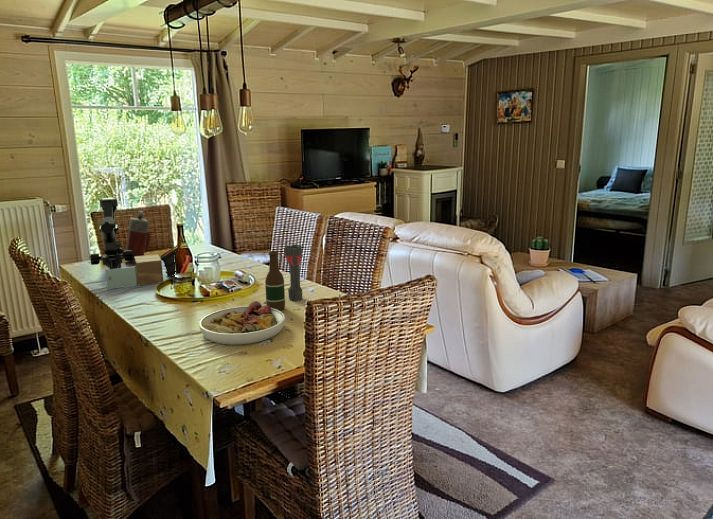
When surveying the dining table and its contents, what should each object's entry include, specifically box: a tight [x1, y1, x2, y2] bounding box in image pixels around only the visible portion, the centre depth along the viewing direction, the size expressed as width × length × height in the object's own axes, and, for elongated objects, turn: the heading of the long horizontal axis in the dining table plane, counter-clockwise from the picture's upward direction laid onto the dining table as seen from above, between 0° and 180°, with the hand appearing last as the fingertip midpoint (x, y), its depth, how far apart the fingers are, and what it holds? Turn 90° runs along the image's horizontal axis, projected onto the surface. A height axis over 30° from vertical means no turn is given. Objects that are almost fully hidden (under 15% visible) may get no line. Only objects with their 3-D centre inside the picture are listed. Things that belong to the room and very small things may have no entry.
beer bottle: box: [264, 250, 286, 312], centre depth 215 cm, size 8×8×24 cm
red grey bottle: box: [124, 210, 151, 263], centre depth 300 cm, size 9×11×28 cm
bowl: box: [198, 300, 286, 346], centre depth 193 cm, size 30×30×8 cm
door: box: [104, 265, 139, 290], centre depth 250 cm, size 13×2×9 cm, turn 119°
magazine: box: [159, 245, 177, 278], centre depth 272 cm, size 4×13×15 cm, turn 131°
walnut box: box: [134, 254, 164, 286], centre depth 262 cm, size 15×11×11 cm
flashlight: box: [283, 244, 303, 302], centre depth 230 cm, size 8×8×23 cm
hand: (114, 272), depth 253 cm, fingers closed
